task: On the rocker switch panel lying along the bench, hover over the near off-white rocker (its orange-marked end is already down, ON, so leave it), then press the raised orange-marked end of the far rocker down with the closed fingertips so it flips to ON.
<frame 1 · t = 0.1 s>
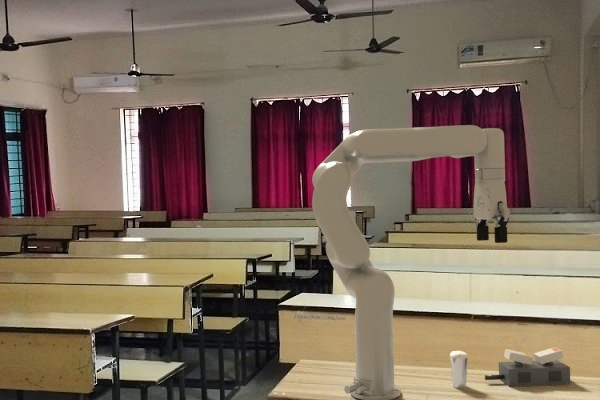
hand: (491, 241, 157), 37 cm above the table, tool pointing down, fingers open, 9 cm apart
rocker switch panel: (534, 381, 158), on the table
milkshake: (461, 387, 155), on the table
rocker far: (548, 355, 158), point 7 cm above the table, hinge at -14.0°
rocker near: (518, 356, 157), point 7 cm above the table, hinge at 14.0°
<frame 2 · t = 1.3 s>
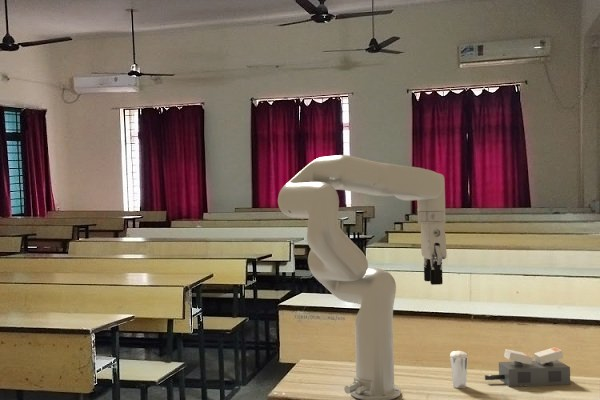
hand: (433, 282, 166), 26 cm above the table, tool pointing down, fingers open, 6 cm apart
nothing on the table moved.
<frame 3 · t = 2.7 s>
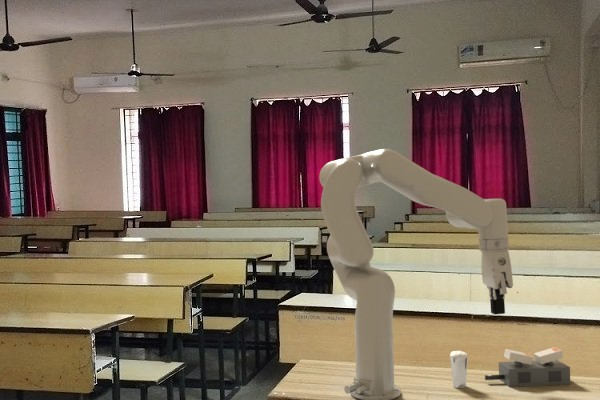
hand: (498, 313, 160), 18 cm above the table, tool pointing down, fingers closed
nothing on the table moved.
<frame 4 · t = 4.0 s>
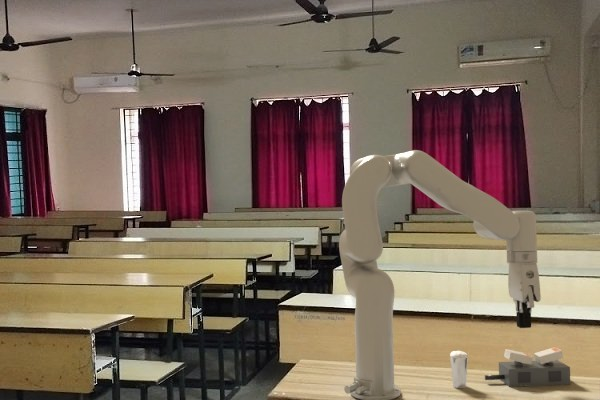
hand: (524, 327, 158), 14 cm above the table, tool pointing down, fingers closed
nothing on the table moved.
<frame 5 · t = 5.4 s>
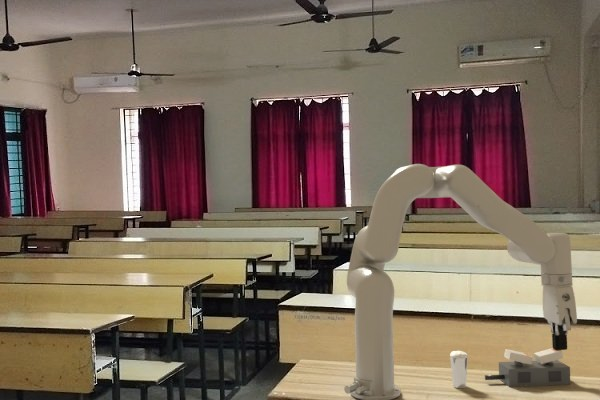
hand: (560, 349, 158), 8 cm above the table, tool pointing down, fingers closed
rocker far: (548, 355, 158), point 7 cm above the table, hinge at -13.1°, touching gripper
everything else where it was.
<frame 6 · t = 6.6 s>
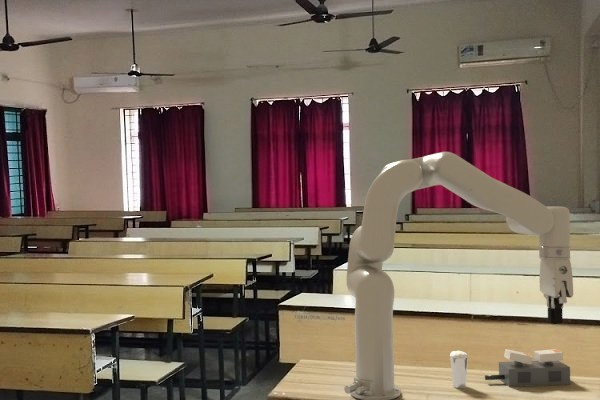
hand: (555, 322, 158), 15 cm above the table, tool pointing down, fingers closed
rocker far: (548, 355, 158), point 7 cm above the table, hinge at -2.6°
everything else where it was.
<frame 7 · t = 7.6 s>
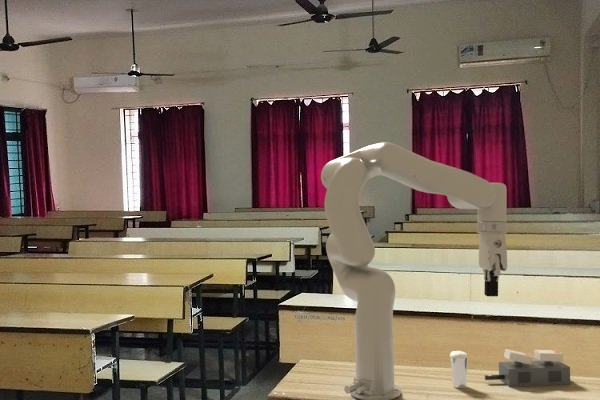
hand: (491, 295, 162), 22 cm above the table, tool pointing down, fingers closed
rocker far: (548, 355, 158), point 7 cm above the table, hinge at 3.2°
everything else where it was.
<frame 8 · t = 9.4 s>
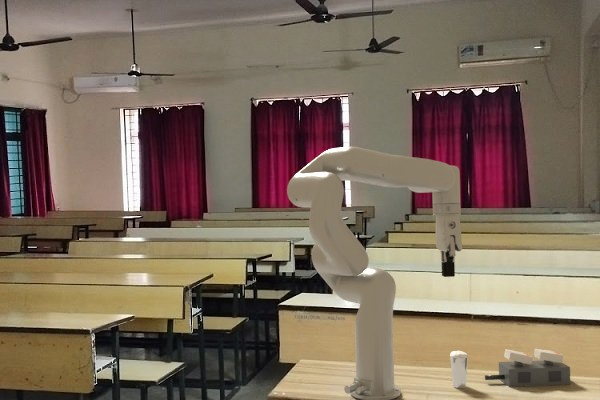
hand: (448, 276, 166), 27 cm above the table, tool pointing down, fingers closed
rocker far: (548, 355, 158), point 7 cm above the table, hinge at 10.1°
everything else where it was.
at the end: rocker far at +11° (first picture: -14°); rocker near at +14° (first picture: +14°) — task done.
